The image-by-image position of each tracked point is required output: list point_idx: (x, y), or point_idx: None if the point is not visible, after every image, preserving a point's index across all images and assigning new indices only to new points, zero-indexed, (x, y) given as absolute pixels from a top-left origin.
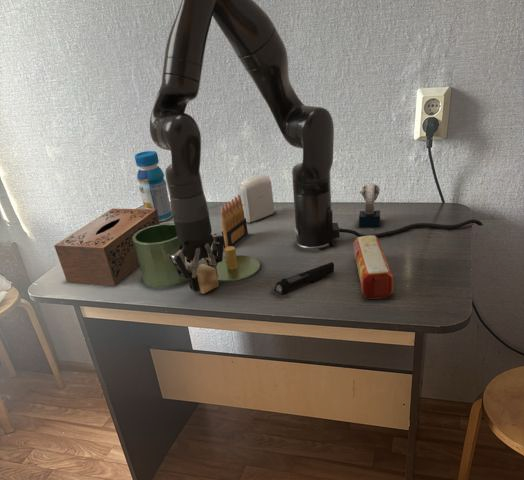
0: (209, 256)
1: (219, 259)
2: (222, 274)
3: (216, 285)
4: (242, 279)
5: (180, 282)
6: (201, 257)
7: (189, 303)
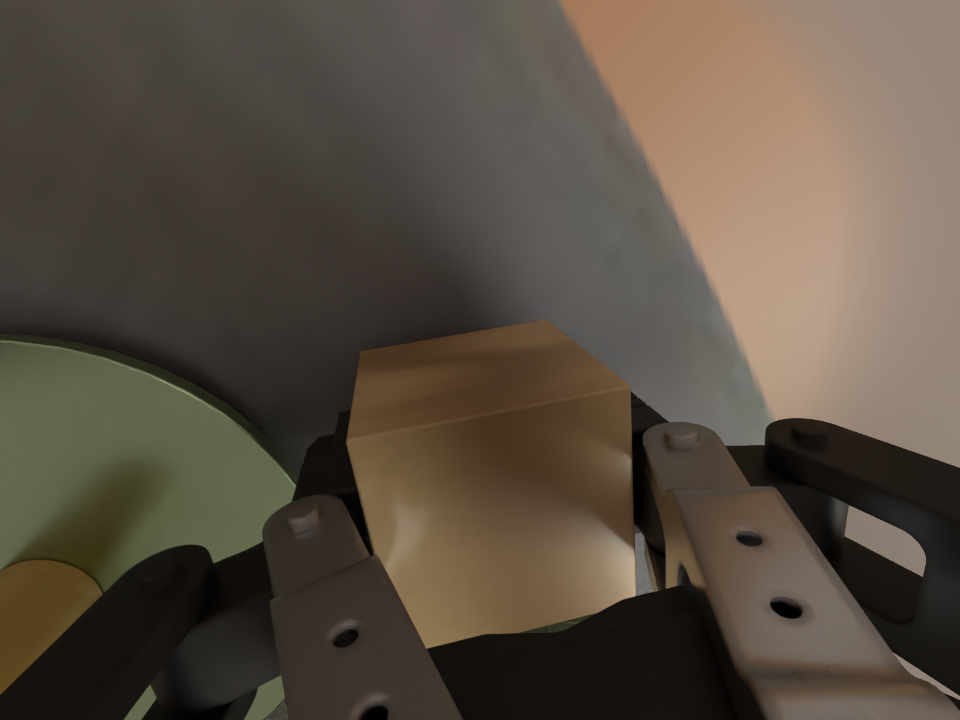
0: (401, 621)
1: (180, 578)
2: (204, 537)
3: (385, 352)
4: (65, 341)
5: (538, 629)
6: (591, 647)
7: (649, 335)
